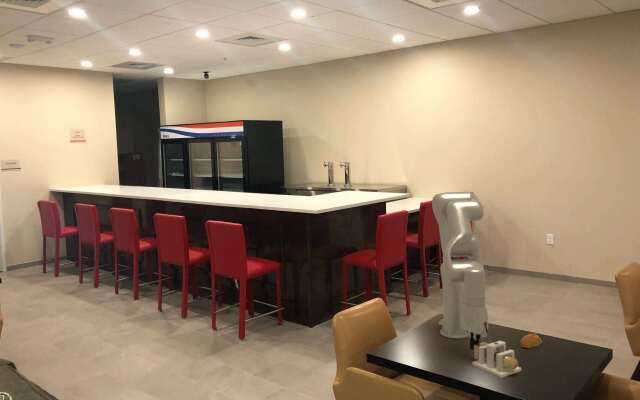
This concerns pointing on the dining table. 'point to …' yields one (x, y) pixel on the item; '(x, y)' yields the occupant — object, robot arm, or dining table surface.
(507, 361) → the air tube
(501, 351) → the white slotted holder
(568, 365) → the dining table surface
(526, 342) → the pastry
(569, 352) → the dining table surface
